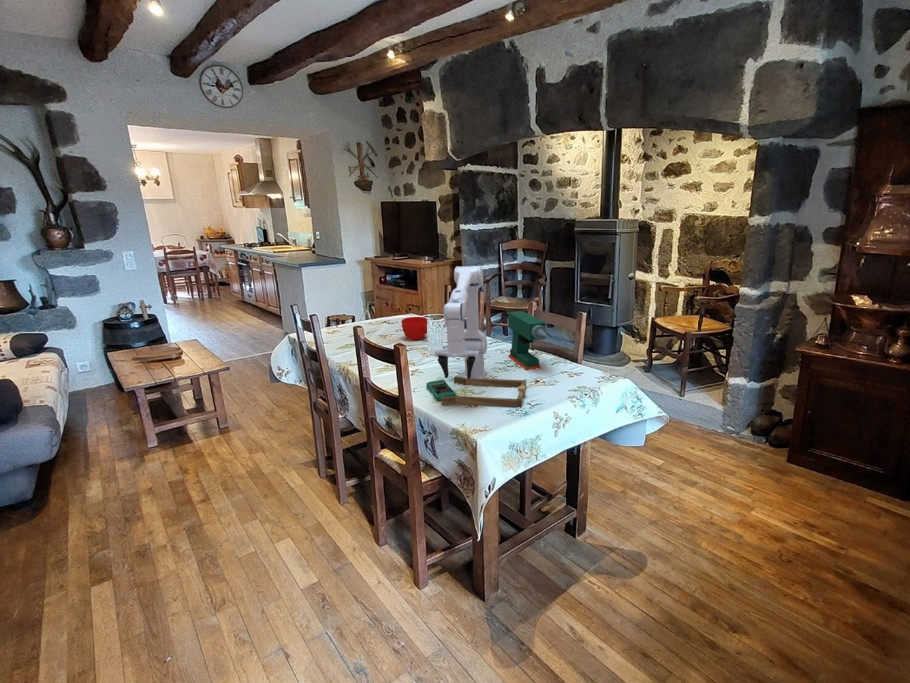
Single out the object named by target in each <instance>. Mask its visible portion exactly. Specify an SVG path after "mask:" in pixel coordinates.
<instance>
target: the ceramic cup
mask: <svg viewBox="0 0 910 683" xmlns="http://www.w3.org/2000/svg"><path fill="white" fill-rule="evenodd" d="M400 323H401V328H402V332H403V334H404V335H405V337H406V338H407V339H408V340H409V339H410V340H409V341H411V340H418V341H421V340H423V338H424V337H425V335H427V334H428V333H427V325H428V318H427V317H423V316H410V317H406V318H405V317H404V318H403V319H402V320H401V322H400ZM420 339H421V340H420Z"/></svg>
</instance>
